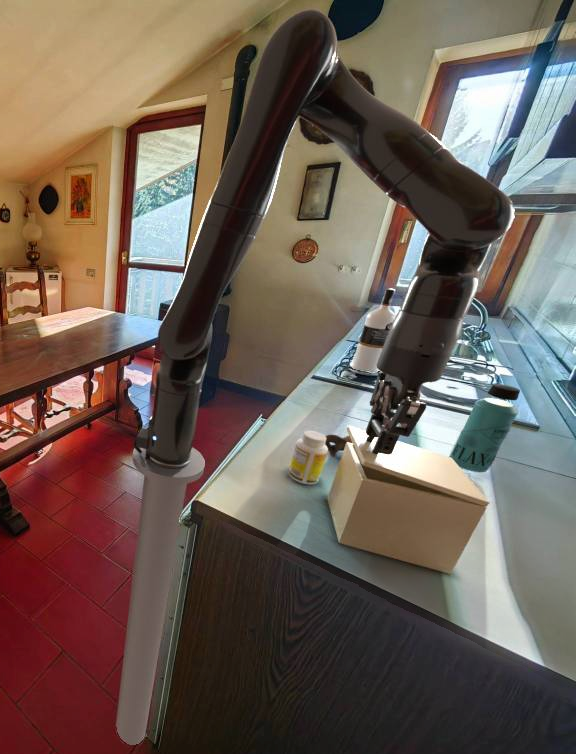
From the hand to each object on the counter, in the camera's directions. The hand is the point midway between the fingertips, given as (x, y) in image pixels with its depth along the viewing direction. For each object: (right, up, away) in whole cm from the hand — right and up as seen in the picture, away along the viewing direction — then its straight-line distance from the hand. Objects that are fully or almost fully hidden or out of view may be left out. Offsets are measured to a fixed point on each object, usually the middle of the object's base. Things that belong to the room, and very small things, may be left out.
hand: (377, 443), depth 63 cm
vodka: (+59, +14, +79) cm, 100 cm away
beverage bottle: (+37, -9, +22) cm, 44 cm away
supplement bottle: (-1, -10, +19) cm, 21 cm away
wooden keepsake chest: (+4, -16, +4) cm, 17 cm away
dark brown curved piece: (+13, -8, +24) cm, 29 cm away
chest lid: (+4, -3, -1) cm, 5 cm away
